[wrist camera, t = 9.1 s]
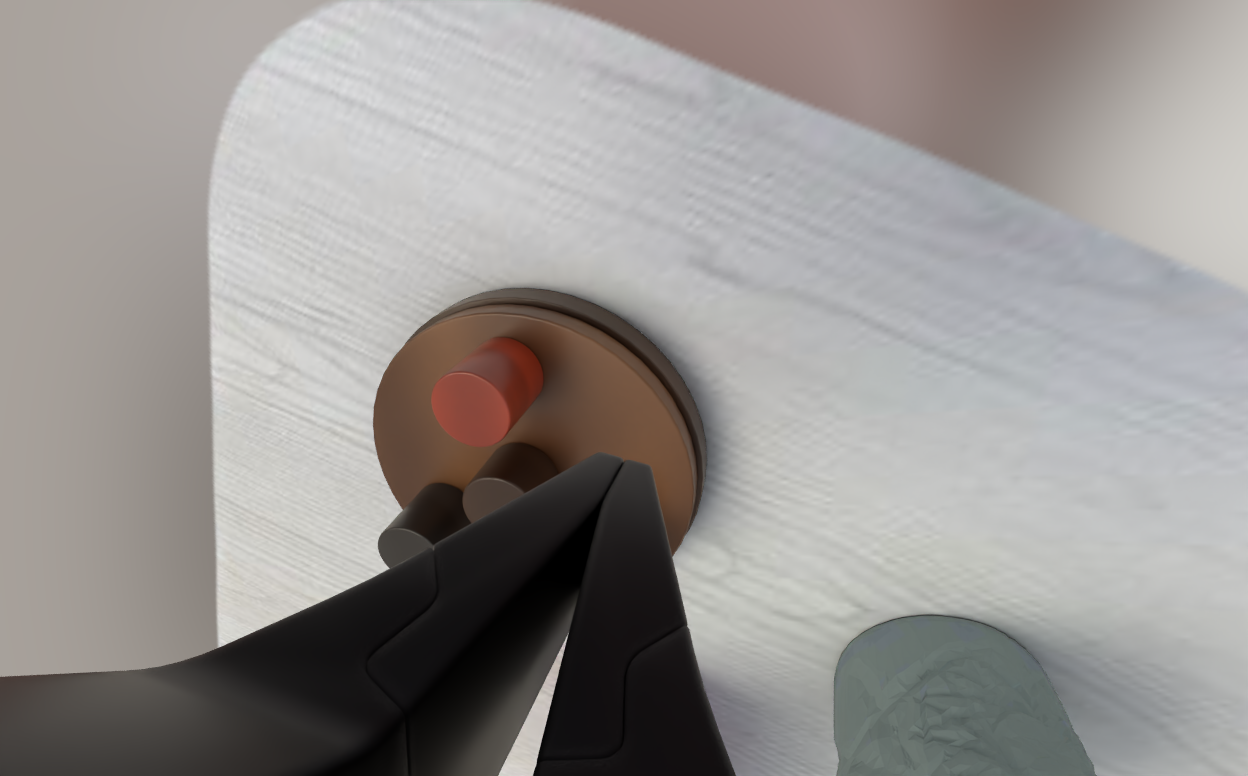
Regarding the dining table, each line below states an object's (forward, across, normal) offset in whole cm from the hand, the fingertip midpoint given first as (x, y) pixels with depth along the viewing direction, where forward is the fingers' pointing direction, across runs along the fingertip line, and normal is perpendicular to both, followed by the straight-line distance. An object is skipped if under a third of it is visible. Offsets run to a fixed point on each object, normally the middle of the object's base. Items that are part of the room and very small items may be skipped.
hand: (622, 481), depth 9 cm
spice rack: (+12, +6, +9) cm, 16 cm away
